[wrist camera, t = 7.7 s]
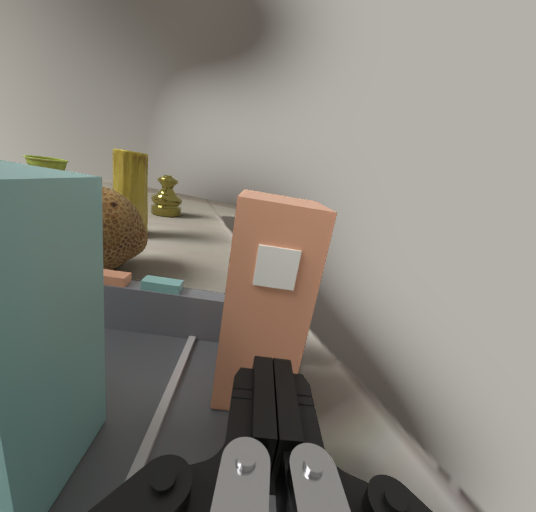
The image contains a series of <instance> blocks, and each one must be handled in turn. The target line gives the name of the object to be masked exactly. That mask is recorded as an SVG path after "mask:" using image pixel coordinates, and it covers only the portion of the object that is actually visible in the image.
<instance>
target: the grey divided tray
mask: <svg viewBox="0 0 536 512" xmlns="http://www.w3.org/2000/svg"><path fill="white" fill-rule="evenodd" d="M131 276H132V273H130V272H123V271H116V270H109V269H103V277H104V334H105V390H106V421H105V422H104V424H103V425H102V427H101V429H100V430H99V432H98V433H97V435H96V437H95V438H94V440H93V441H92V443H91V445H90V446H89V448H88V449H87V451H86V452H85V454H84V456H83V457H82V459H81V460H80V462H79V464H78V465H77V467H76V468H75V470H74V472H73V473H72V475H71V476H70V478H69V479H68V481H67V483H66V484H65V486H64V487H63V489H62V491H61V492H60V494H59V495H58V497H57V499H56V500H55V502H54V503H53V505H52V506H51V508H50V510H49V511H48V512H88V511H89V510H90V509H91V508H93V507H94V506H95V505H96V504H98V503H99V502H100V501H101V500H103V499H104V498H105V497H106V496H108V495H109V494H110V493H111V492H113V491H114V490H115V489H116V488H118V487H119V486H120V485H121V484H123V483H124V482H125V481H126V480H127V479H129V478H130V477H131V476H132V475H134V474H135V473H136V472H137V471H139V470H140V469H141V468H142V467H144V466H145V465H146V464H147V463H149V462H150V461H151V460H153V459H155V458H157V457H159V456H162V455H169V454H172V455H177V456H180V457H182V458H183V459H185V460H186V461H187V463H188V464H189V465H191V464H195V463H198V462H202V461H205V460H208V459H210V458H212V457H213V456H214V455H216V454H217V453H218V452H219V451H220V450H221V448H222V447H223V445H224V443H225V438H226V430H227V423H228V415H229V411H228V410H219V409H210V406H211V399H212V391H213V383H214V376H215V368H216V360H217V353H218V345H219V337H220V330H221V322H222V314H223V306H224V299H225V293H219V292H212V291H205V290H198V289H191V288H184V287H183V283H184V280H179V279H172V278H165V277H158V276H151V275H147V276H146V277H145V278H143V279H142V280H141V281H134V280H131ZM269 512H276V495H269Z"/></svg>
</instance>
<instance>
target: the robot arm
mask: <svg viewBox="0 0 536 512" xmlns="http://www.w3.org/2000/svg"><path fill="white" fill-rule="evenodd" d="M269 495H276V512H432V511H431V510H430V509H429V508H428V507H427V506H426V505H425V504H424V503H423V502H421V501H420V500H419V499H418V498H417V497H416V496H415V495H414V494H413V493H412V492H411V491H410V490H409V489H408V488H407V487H406V486H404V485H403V484H402V483H401V482H399V481H398V480H396V479H394V478H393V477H390V476H387V475H376V476H374V477H373V478H371V480H370V481H369V483H367V482H365V481H363V480H360V479H358V478H356V477H354V476H351V475H349V474H347V473H345V472H344V471H342V470H341V469H339V468H338V467H337V466H336V465H335V462H334V461H333V459H332V457H331V456H330V455H329V454H328V452H327V451H325V449H324V445H323V441H322V437H321V432H320V428H319V424H318V420H317V415H316V411H315V408H314V402H313V398H312V394H311V389H310V385H309V383H308V382H307V381H306V379H305V378H304V376H303V375H302V374H295V373H293V370H292V364H291V360H288V359H280V358H273V359H272V358H271V357H263V356H254V361H253V367H252V369H251V368H242V367H241V368H240V369H239V370H238V372H237V373H236V374H235V376H234V381H233V388H232V394H231V401H230V408H229V415H228V423H227V430H226V438H225V443H224V445H223V447H222V448H221V450H220V451H219V452H218V453H217V454H216V455H214V456H213V457H212V458H210V459H208V460H205V461H202V462H198V463H195V464H191V465H189V464H188V463H187V461H186V460H185V459H183V458H182V457H180V456H177V455H172V454H169V455H162V456H159V457H157V458H155V459H153V460H151V461H150V462H149V463H147V464H146V465H145V466H144V467H142V468H141V469H140V470H139V471H137V472H136V473H135V474H134V475H132V476H131V477H130V478H129V479H127V480H126V481H125V482H124V483H123V484H121V485H120V486H119V487H118V488H116V489H115V490H114V491H113V492H111V493H110V494H109V495H108V496H106V497H105V498H104V499H103V500H101V501H100V502H99V503H98V504H96V505H95V506H94V507H93V508H91V509H90V510H89V511H88V512H269Z"/></svg>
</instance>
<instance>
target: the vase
mask: <svg viewBox="0 0 536 512" xmlns="http://www.w3.org/2000/svg"><path fill="white" fill-rule="evenodd" d="M147 174H148V154H144V153H138V152H133V151H127V150H121V149H115V148H114V149H113V190H115V191H116V192H118V193H120V194H121V195H123V196H124V197H126V198H127V199H128V200H129V201H131V202H132V203H133V205H134V206H135V207H136V209H137V210H138V211H139V213H140V215H141V218H142V220H143V223H144V225H145V228H146V231H147V235H148V229H147V224H148V203H147Z"/></svg>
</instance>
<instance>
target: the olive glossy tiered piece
mask: <svg viewBox="0 0 536 512" xmlns="http://www.w3.org/2000/svg"><path fill="white" fill-rule="evenodd" d="M157 180H158V181H159V182H160V183H161V185H162V188H161V190H160V191H158V192H157V193H156V194H154V195H152V197H151V199H152V201H153V202H154V203H155V204H152V205H151V213H153V214H155V215H158V216H164V217H178V216H180V215H181V207H179V205H180V204H181V203H182V199H181V198H180V197H178V196H177V194H176V193H175V192H174V190H173V187H174V185H176V184H177V183H178V181H177V180H176V179H174V178H173V177H172V176H170V175H164V176H162V177H159V178H157Z"/></svg>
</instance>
